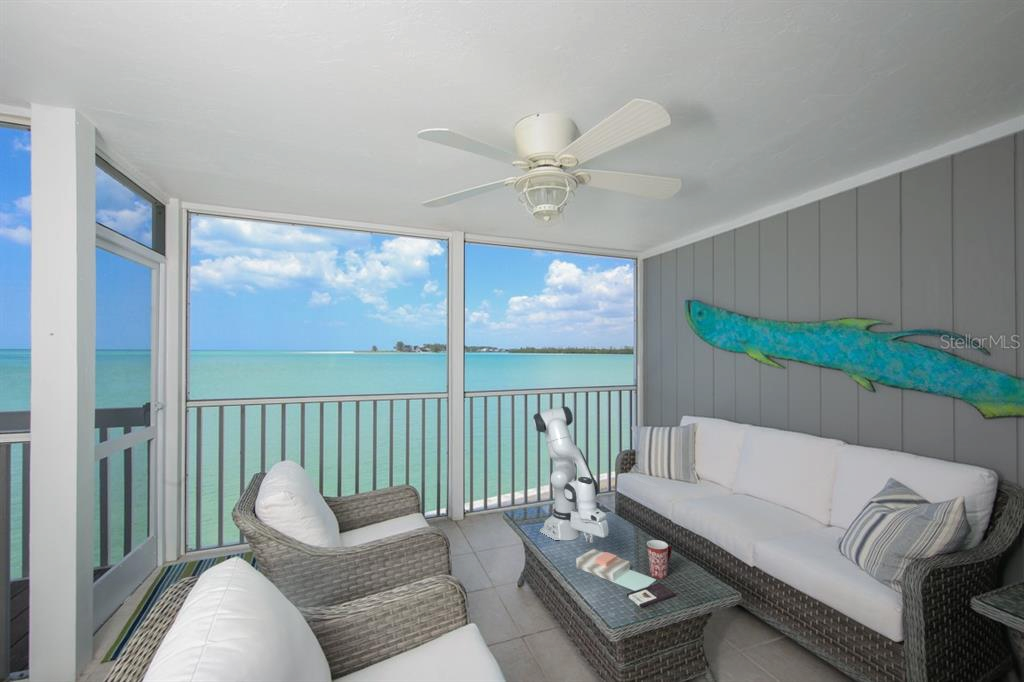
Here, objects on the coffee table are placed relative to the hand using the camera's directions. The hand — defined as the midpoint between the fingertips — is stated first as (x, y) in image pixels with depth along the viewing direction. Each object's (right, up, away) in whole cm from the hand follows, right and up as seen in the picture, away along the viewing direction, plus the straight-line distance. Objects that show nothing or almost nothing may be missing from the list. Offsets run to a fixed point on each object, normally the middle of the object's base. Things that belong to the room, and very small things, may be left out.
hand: (589, 541), depth 208 cm
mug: (+31, -10, -11) cm, 34 cm away
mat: (+17, -10, -16) cm, 25 cm away
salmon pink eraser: (+7, -6, -6) cm, 11 cm away
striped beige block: (+5, -10, -5) cm, 13 cm away
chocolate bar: (+20, -9, -29) cm, 36 cm away
